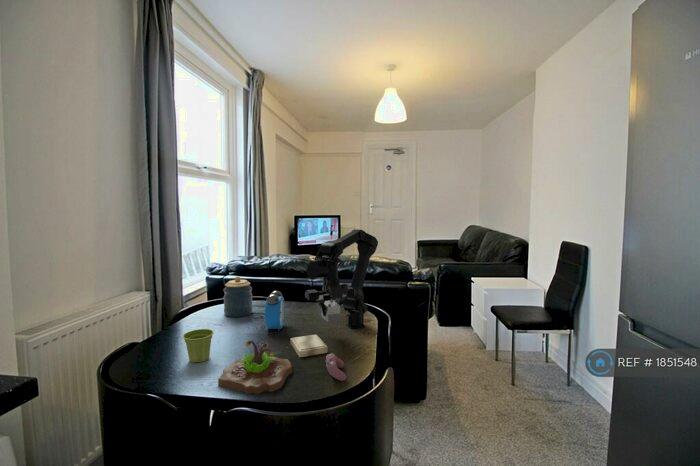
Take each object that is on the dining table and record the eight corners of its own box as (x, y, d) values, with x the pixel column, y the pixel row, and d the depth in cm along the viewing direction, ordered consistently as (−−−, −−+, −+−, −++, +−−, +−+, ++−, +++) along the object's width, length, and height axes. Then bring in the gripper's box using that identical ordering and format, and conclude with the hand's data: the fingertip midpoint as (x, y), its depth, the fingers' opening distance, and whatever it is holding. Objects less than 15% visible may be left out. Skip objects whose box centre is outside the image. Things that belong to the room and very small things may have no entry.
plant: (242, 360, 118) (241, 327, 117) (298, 365, 114) (298, 331, 113) (207, 391, 98) (206, 351, 97) (274, 398, 95) (273, 357, 94)
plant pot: (195, 368, 111) (194, 341, 110) (177, 361, 116) (176, 335, 115) (220, 357, 119) (219, 332, 118) (202, 351, 124) (202, 327, 123)
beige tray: (316, 339, 135) (316, 333, 135) (327, 352, 123) (327, 346, 123) (290, 343, 131) (290, 337, 131) (299, 357, 119) (299, 350, 119)
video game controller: (332, 371, 112) (322, 352, 111) (345, 364, 112) (335, 346, 112) (333, 387, 102) (322, 367, 102) (347, 380, 103) (337, 359, 102)
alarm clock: (279, 333, 141) (279, 296, 139) (264, 334, 141) (263, 296, 139) (285, 322, 154) (284, 288, 153) (271, 323, 154) (270, 288, 152)
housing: (333, 315, 142) (333, 298, 141) (340, 321, 134) (340, 303, 134) (321, 316, 140) (321, 300, 139) (327, 322, 132) (327, 305, 132)
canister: (258, 312, 169) (257, 275, 168) (236, 319, 158) (235, 280, 157) (240, 307, 176) (239, 272, 175) (217, 314, 165) (216, 277, 164)
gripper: (313, 281, 125) (313, 324, 126) (361, 277, 132) (361, 318, 133) (304, 275, 135) (304, 315, 136) (349, 272, 142) (349, 310, 143)
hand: (330, 315), depth 137 cm, fingers closed on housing, 5 cm apart
